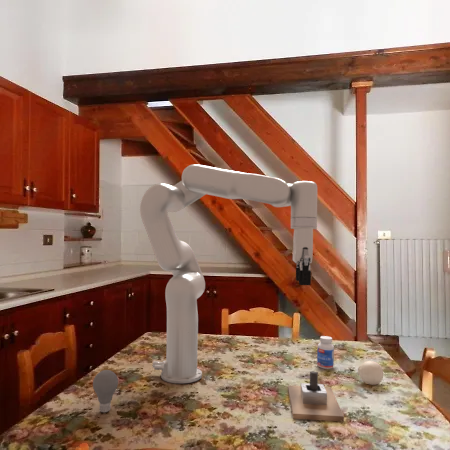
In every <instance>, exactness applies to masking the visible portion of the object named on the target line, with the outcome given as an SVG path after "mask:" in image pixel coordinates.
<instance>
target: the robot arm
mask: <svg viewBox="0 0 450 450" xmlns="http://www.w3.org/2000/svg"><path fill="white" fill-rule="evenodd" d="M206 195H209V196H212V197H214V196H215V197H219V198H223V199H228V200H248V201H253V202H258V203H264V204H268V205H271V206H272V207H274V208H285V207H290V229H293V237H292V239H293V241H292V243H293V244H292V261H293V262H294V263H295V264H296V267H295V281H296V282H298V284H299V286H311V285H312V284H311V283H312V270H311V264H312V263H313V253H314V252H313V251H314V250H313V249H314V230H317V229H318V185H317V183H316V182H315V181H310V180H309V181H308V180H302V181H301V180H300V181H295V182H293V183H287V182H286V181H285V180H283V179H281V178H278V177H272V176H266V175H262V174H257V173H249V172H248V173H247V172H242V171H235V170H229V169H226V168H225V169H224V168H219V167H213V166H209V165H203V164H190V165H188V166H187V167H185V168H184V169H183V171H182V174H181V180H180V181H179V182H177V183H176V184H174V185H172V184H168V183H163V182H162V183H155V184H153V185H151V186H150V187H149V188H148V189H147V190H146V191H145V192H144V194H143V196H142V198H141V199H140V200H141V201H140V204H139V213H140V219H141V221H142V224H143V226H144V229H145V232H146V235H147V237H148V239H149V243H150V246H151V248H152V251H153V253H154V255H155V259H156V262H157V265H158V266H159V267H160V268H161V269H162V270H163V271H165V272H171V273H172V277H171V278H170V279H169V280H168V282H167V284H166V287H165V292H164V294H165V295H164V296H165V303H166V305H165V306H166V349H165V351H166V355H165V356H166V357H165V360H162V361H160V360H159V361H157V360H153V361H152V368H154V370H157V371H160V370H161V372H160V378H161V379H162V380H163V381H165V382H167V383H170V384H181V385H182V384H190V383H194V382H198V381H199V380H200V379H202V378H203V377H202V376H203V371H202V370H201V369H200V368H198V346H199V345H198V340H199V339H198V335H199V314H198V301H197V300H198V299H199V298H200V297H201V296H202V295H203V293H204V292H205V289H206V281H205V277H204V275H203V272H202V269H201V266H200V264H199V262H198V259H197V256H196V254H195V252H194V250H193V249H192V247H191V246H190V245H189V244H188V243H187V242H185V241H183V240H180V238H179V236H178V234H177V233H176V232H177V231H176V228H175V226H174V224H173V222H172V220H171V219H170V217H169V213H177V212H180V211H182V210H184V209H186V208H187V207H188V206H190V205H192V204H193V203H195V202H196V201H198V200H200V199H201V198H202V197H204V196H206ZM168 212H169V213H168Z"/></svg>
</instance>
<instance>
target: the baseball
mask: <svg viewBox="0 0 450 450" xmlns="http://www.w3.org/2000/svg"><path fill="white" fill-rule="evenodd" d="M357 375H358V376H359V377H360V379H361V380H362V381H363V382H364V383H365V384H368V385H370V386H374V385H378V384H380V383H381V382H382V380H383V378H384V370H383V367H382V366H381V364H379V363H378V362H376V361H373V360H366V361H363V362H362V363H361V364H360V365H359V366H358V368H357Z"/></svg>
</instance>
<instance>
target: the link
mask: <svg viewBox="0 0 450 450" xmlns="http://www.w3.org/2000/svg"><path fill="white" fill-rule="evenodd" d="M300 386H301V398H302V402H303V404H317V405H327V392H326V390H325V385H324V384H322V383H318V391H310V383H307V382H306V383H305V382H304V383H303V382H300Z"/></svg>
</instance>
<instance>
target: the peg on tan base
mask: <svg viewBox="0 0 450 450" xmlns="http://www.w3.org/2000/svg"><path fill="white" fill-rule="evenodd" d="M318 376H319V374H318V372H317V371H315V370H314V371H309V384H310V391H318V384H319V383H318V380H319V377H318ZM324 387H325V386H324ZM325 390H326V392H327V405H317V404H303V402H302V398H301V385H287V392H288V398H289V402H290V403H289V404H290V408H291V413H292V414H291V415H292V419H295V420H312V421H327V422H328V421H330V422H345V416H344V413H343V411H342V409H341V407H340V405H339V402H338V400H337V399H336V396H335V394H334V391H333V389H332V387H328V386H327V387H325Z"/></svg>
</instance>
